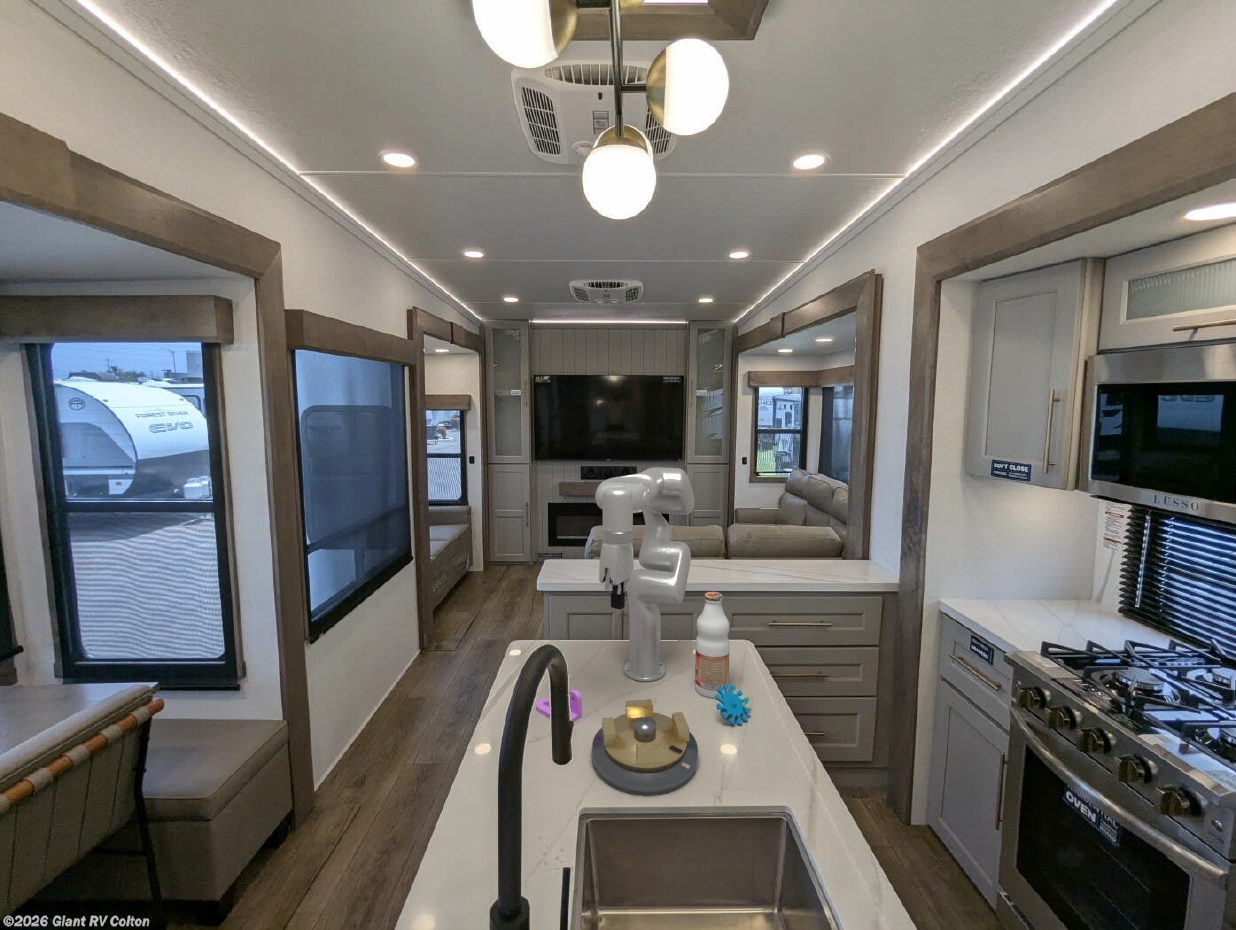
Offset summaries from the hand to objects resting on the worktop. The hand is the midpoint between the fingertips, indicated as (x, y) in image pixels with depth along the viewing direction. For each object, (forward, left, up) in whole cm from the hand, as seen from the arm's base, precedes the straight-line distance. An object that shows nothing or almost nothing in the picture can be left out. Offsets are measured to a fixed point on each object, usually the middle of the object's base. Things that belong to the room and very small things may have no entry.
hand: (617, 607), depth 132 cm
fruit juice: (-17, +24, -29) cm, 42 cm away
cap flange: (+15, +9, -29) cm, 34 cm away
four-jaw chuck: (+15, +9, -26) cm, 31 cm away
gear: (-5, +30, -29) cm, 42 cm away
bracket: (+2, -16, -30) cm, 34 cm away
